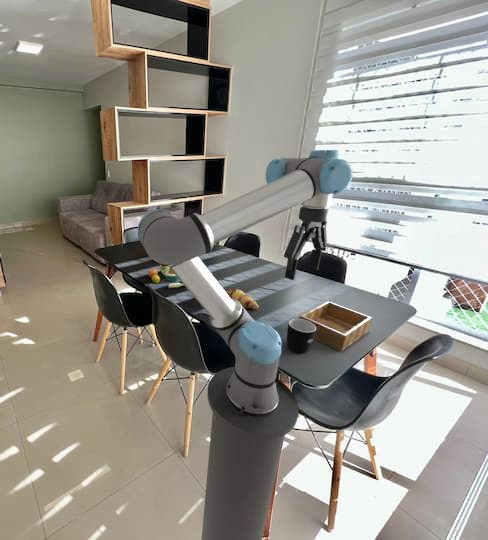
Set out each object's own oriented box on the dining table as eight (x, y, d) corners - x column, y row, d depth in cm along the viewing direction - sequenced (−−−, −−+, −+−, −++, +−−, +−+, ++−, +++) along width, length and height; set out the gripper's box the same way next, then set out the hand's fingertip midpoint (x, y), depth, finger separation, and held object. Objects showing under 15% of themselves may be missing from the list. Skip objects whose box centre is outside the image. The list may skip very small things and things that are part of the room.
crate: (341, 351, 105) (345, 336, 102) (297, 330, 118) (300, 315, 116) (367, 332, 116) (372, 317, 114) (324, 314, 129) (328, 301, 127)
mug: (306, 359, 101) (311, 335, 97) (280, 348, 107) (284, 325, 103) (316, 344, 109) (322, 321, 105) (292, 335, 115) (296, 313, 111)
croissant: (259, 314, 136) (265, 299, 136) (252, 313, 129) (258, 296, 128) (221, 299, 150) (226, 285, 150) (212, 297, 142) (217, 282, 142)
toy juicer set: (141, 277, 172) (141, 265, 169) (165, 270, 182) (165, 258, 179) (172, 294, 150) (172, 280, 147) (197, 285, 160) (198, 272, 157)
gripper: (323, 201, 94) (311, 262, 101) (277, 209, 81) (267, 278, 89) (348, 204, 88) (333, 268, 96) (303, 213, 75) (290, 287, 83)
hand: (301, 273), depth 92 cm, fingers open, 13 cm apart
